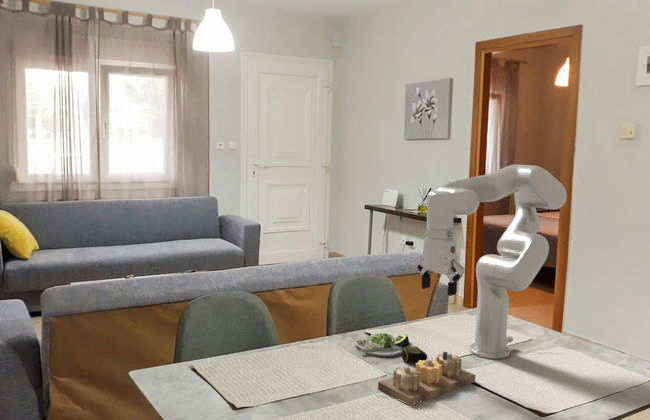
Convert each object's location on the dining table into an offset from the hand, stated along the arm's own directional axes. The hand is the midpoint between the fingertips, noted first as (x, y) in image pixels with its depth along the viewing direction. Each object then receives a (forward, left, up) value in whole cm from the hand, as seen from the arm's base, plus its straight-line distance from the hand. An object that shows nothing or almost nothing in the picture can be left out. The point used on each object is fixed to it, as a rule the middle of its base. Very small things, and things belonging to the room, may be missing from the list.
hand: (438, 291), depth 170 cm
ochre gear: (+11, +7, -21) cm, 25 cm away
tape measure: (+1, -7, -24) cm, 25 cm away
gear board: (+11, +7, -23) cm, 27 cm away
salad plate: (0, -21, -24) cm, 31 cm away
